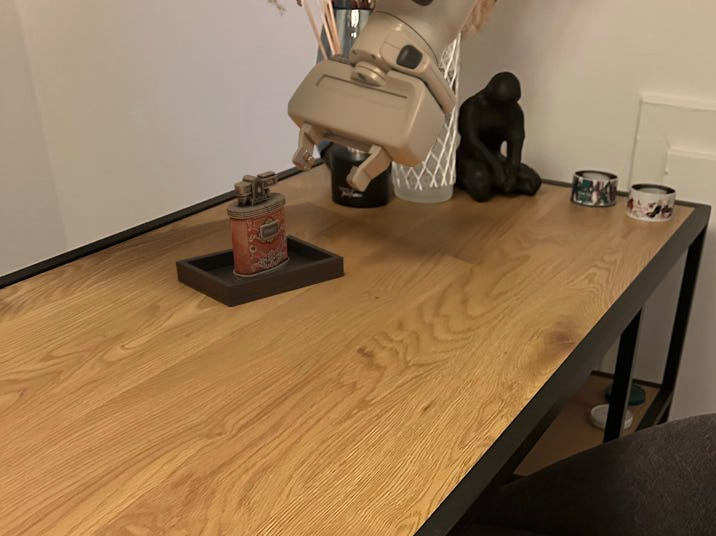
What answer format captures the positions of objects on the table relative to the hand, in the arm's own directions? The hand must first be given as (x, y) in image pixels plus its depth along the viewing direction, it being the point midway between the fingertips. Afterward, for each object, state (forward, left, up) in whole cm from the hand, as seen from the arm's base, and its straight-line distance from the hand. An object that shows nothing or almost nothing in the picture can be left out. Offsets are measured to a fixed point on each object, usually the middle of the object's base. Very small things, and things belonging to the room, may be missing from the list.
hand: (325, 176), depth 104 cm
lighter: (0, -9, -9) cm, 13 cm away
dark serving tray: (0, -9, -9) cm, 13 cm away
